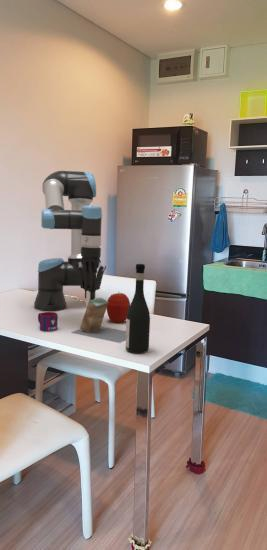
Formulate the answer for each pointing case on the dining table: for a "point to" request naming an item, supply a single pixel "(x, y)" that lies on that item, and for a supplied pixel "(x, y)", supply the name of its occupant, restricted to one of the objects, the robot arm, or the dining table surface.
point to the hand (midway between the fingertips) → (89, 307)
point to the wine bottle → (138, 317)
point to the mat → (105, 334)
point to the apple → (118, 307)
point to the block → (94, 315)
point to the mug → (48, 321)
